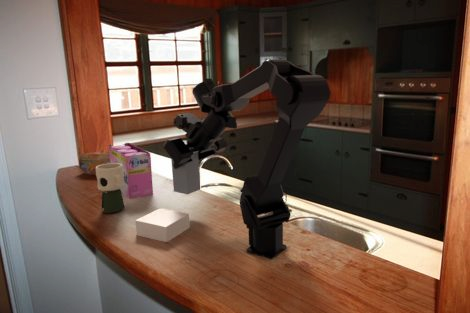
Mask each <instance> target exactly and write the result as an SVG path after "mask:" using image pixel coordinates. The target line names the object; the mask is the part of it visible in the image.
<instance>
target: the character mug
mask: <svg viewBox="0 0 470 313" xmlns="http://www.w3.org/2000/svg"><path fill="white" fill-rule="evenodd" d="M95 176H96V180H97V181H96V182H97V185H96V186H97V189H98V191H102V193H101V210H103V212H104V213H107V214H108V213H116V212H118V211H120V210H123V209H125V207H126V206H125V202H124V197H123V192H122V191H121V190H120V188H122V187H124V176H123V165H122V164H120V163H107V164H102V165H98V166H96V175H95Z"/></svg>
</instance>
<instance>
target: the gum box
mask: <svg viewBox="0 0 470 313" xmlns="http://www.w3.org/2000/svg"><path fill="white" fill-rule="evenodd" d="M108 154H109V157H110V163H120V164H122V165H123V176H124V187H122V188H120V190H121V192H122V194H123V195H125V196H126V197H127V198H128V199H135V198H140V197H145V196H151V195H153V194H154V190H153V189H154V188H153V186H154V185H153V174H152V173H153V172H152V158H151V153H150V152H149V151H148V150H144V149H143V148H140V147H138V146H136V145H134V144H133V143H130V142H124V145H121V144H120V145H119V144H118V145H112V144H109V145H108Z"/></svg>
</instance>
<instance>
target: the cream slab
mask: <svg viewBox="0 0 470 313" xmlns="http://www.w3.org/2000/svg"><path fill="white" fill-rule="evenodd" d="M134 221H135V232H136V236H140V237H144V238H148V239H152V240H155V241H156V240H157V241H160V242H164V243H168V242H169V241H172V240H173V239H174V238H176V237H177V236H179V235H180V234H183V233H184V232H185V231H187V230H189V229H190V227H191V225H190V214H189V213H187V212H182V211H177V210H171V209H168V208H158V209H156V210H154V211H151V212H150V213H148V214H145V215H143V216H142V217H140V218H139V217H138V218H137V219H135V220H134Z"/></svg>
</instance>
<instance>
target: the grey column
mask: <svg viewBox="0 0 470 313" xmlns="http://www.w3.org/2000/svg"><path fill="white" fill-rule="evenodd" d="M187 141H188V140H183V142H184V143H185V144H187V143H186V142H187ZM191 159H192V160H193V161H191V162H189V163H187V164H185V165H183V166H181V167H179V168H177V169H175V168H174V167H173V164H174V161H173V160H172V158H171V157H170V160H171V170H172V182H173V184H172V185H173V192H175V193H178V194H184V195H190V194H192V193H194V192H197V191H200V190H201V178H200V177H201V176H200V161H199V159H198V152H195V153H193V155H192V156H191Z"/></svg>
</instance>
